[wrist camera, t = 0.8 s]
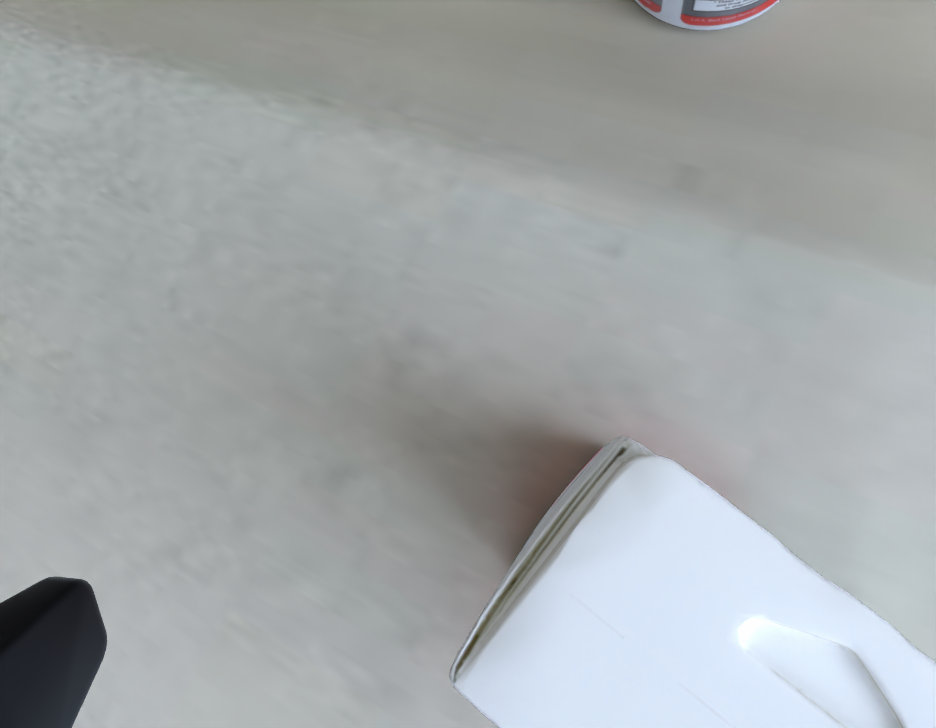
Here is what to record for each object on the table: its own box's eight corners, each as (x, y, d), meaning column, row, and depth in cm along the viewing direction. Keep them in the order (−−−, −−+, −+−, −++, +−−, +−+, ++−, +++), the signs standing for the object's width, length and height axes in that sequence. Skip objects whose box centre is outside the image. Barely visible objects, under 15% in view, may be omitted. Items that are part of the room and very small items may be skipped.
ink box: (503, 567, 24) (414, 677, 12) (607, 433, 24) (619, 413, 12) (755, 776, 22) (937, 1138, 10) (867, 633, 22) (1176, 835, 10)
